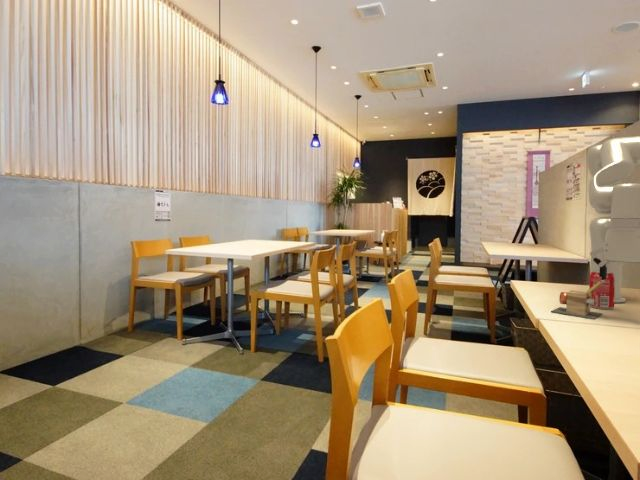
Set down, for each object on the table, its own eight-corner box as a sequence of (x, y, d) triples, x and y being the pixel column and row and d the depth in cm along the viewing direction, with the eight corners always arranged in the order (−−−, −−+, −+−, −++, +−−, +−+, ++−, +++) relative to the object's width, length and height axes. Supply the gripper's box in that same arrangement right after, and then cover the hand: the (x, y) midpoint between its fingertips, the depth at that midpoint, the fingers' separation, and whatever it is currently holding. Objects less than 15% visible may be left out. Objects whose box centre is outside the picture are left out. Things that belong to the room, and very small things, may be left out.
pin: (562, 302, 128) (563, 291, 128) (594, 307, 122) (595, 295, 121) (559, 304, 126) (559, 292, 125) (591, 309, 119) (592, 296, 119)
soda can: (618, 311, 128) (620, 273, 127) (594, 310, 129) (596, 272, 129) (607, 306, 135) (608, 270, 134) (584, 305, 136) (586, 269, 136)
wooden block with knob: (560, 308, 132) (560, 287, 131) (602, 314, 123) (603, 292, 122) (550, 312, 125) (551, 290, 124) (594, 319, 116) (595, 296, 116)
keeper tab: (592, 291, 122) (590, 290, 123) (604, 281, 120) (603, 279, 120) (588, 293, 119) (586, 291, 119) (601, 282, 117) (599, 280, 117)
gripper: (666, 225, 110) (663, 283, 111) (594, 224, 123) (592, 277, 123) (663, 225, 105) (659, 286, 105) (588, 224, 118) (586, 279, 118)
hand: (623, 281), depth 114 cm, fingers open, 9 cm apart
